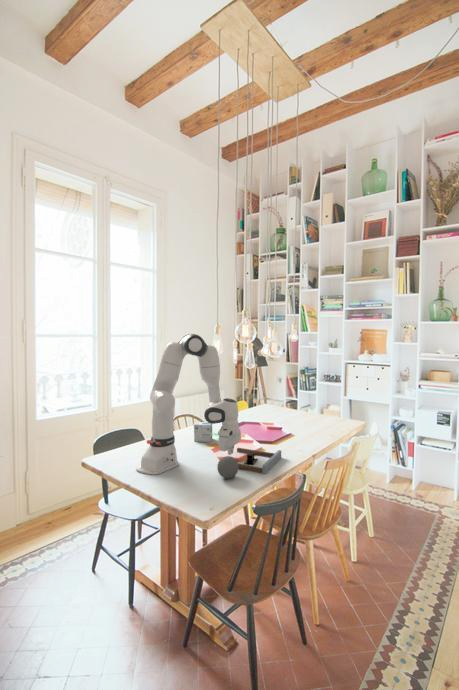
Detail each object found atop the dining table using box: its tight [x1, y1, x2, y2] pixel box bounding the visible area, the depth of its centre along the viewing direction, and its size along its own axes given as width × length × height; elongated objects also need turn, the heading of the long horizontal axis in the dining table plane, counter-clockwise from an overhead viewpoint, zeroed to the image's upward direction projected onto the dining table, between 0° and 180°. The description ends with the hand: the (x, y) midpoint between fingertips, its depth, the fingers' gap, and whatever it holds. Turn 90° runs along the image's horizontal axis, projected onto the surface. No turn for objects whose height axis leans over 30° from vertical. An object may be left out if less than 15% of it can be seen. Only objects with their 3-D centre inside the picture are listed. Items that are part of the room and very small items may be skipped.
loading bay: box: [236, 447, 282, 475], centre depth 193 cm, size 24×26×4 cm
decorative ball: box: [216, 455, 239, 480], centre depth 173 cm, size 10×10×10 cm
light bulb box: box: [193, 421, 213, 443], centre depth 228 cm, size 11×7×11 cm, turn 84°
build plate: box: [243, 453, 259, 466], centre depth 193 cm, size 12×7×5 cm, turn 161°
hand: (230, 454), depth 198 cm, fingers closed
